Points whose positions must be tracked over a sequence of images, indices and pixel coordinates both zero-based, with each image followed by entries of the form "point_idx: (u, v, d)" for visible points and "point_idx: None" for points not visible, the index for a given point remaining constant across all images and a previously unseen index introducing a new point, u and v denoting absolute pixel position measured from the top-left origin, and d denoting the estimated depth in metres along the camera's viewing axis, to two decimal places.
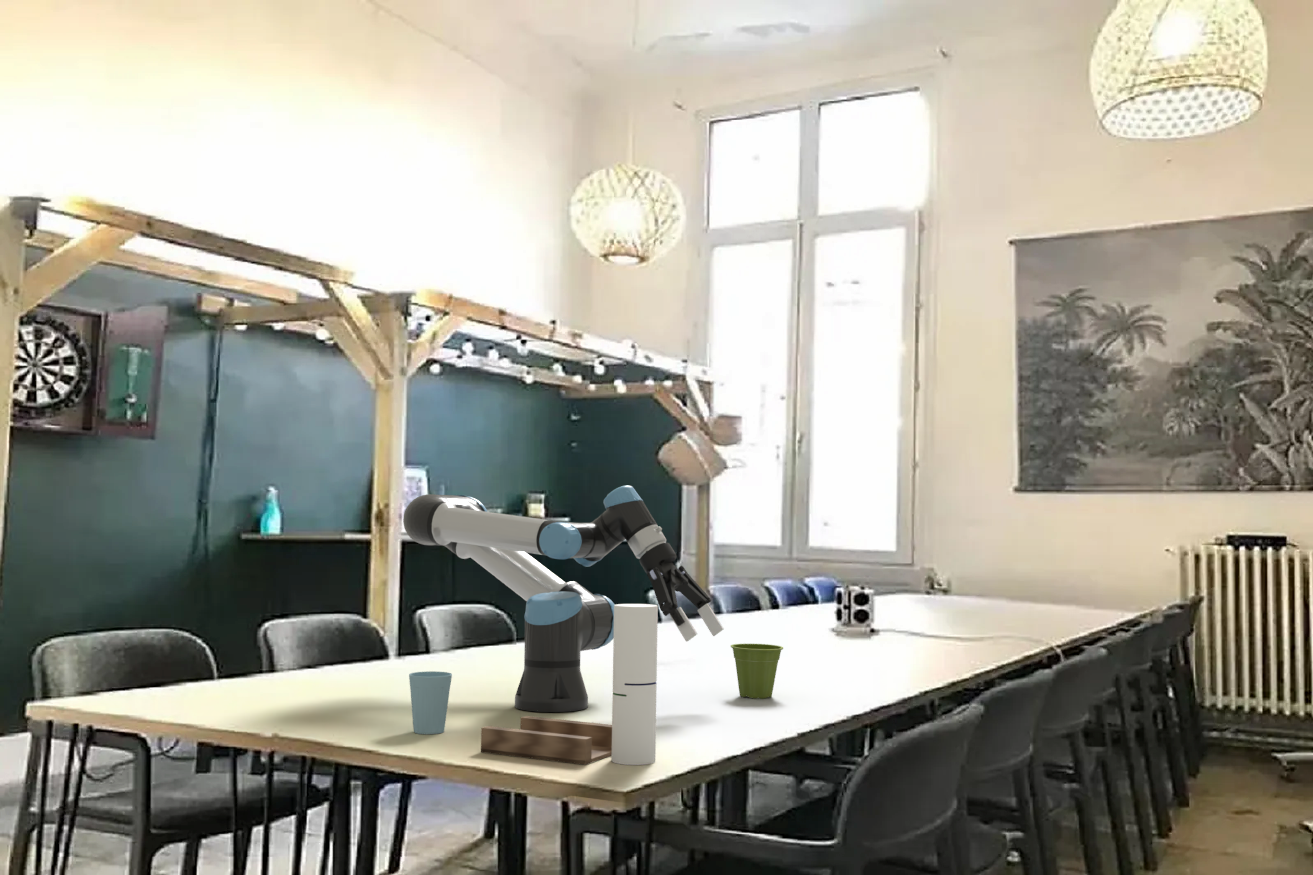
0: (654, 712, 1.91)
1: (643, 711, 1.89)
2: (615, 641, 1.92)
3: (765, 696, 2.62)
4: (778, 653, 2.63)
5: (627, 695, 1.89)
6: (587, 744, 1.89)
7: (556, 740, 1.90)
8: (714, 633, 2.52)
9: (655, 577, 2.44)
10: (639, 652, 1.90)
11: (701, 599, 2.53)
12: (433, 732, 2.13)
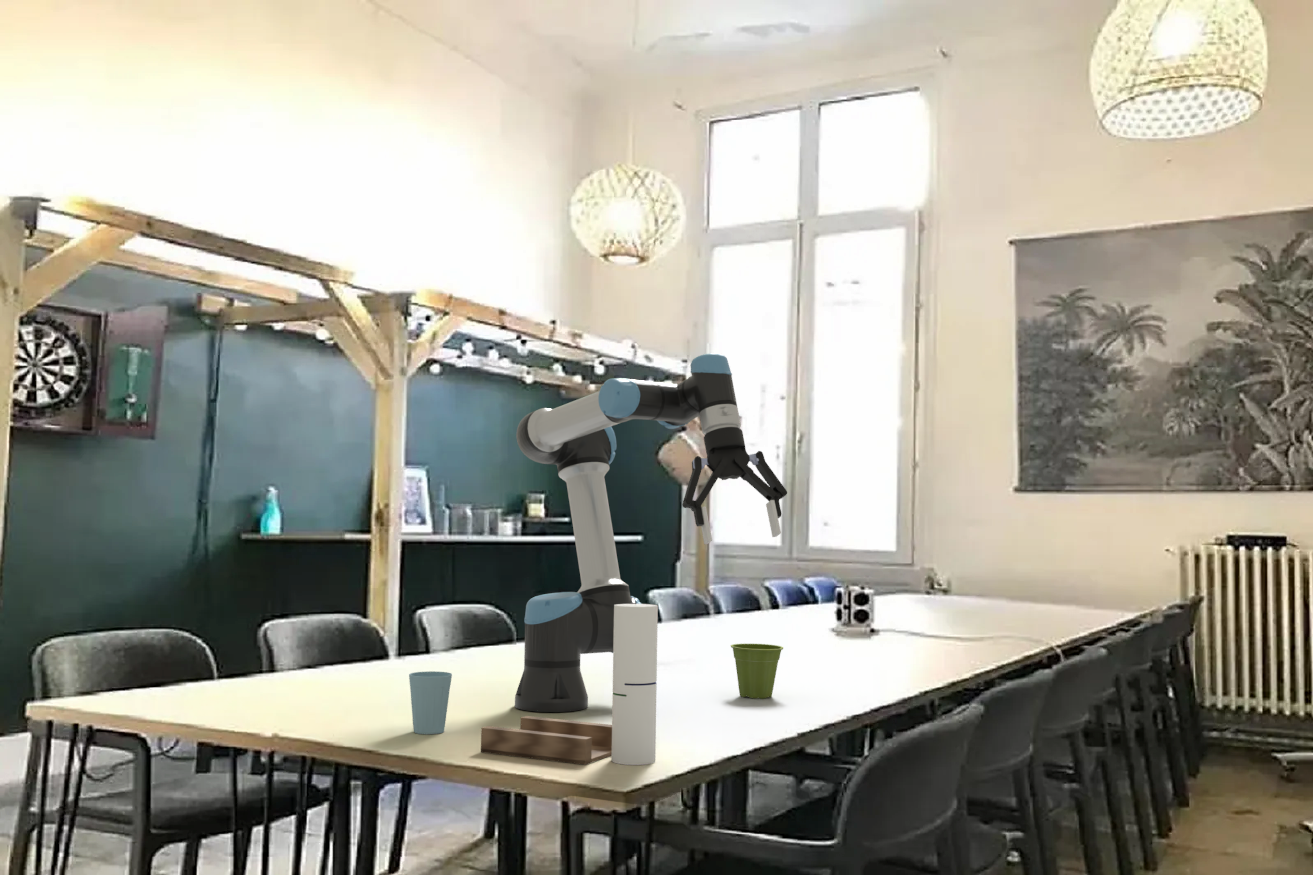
0: (654, 712, 1.91)
1: (643, 711, 1.89)
2: (615, 641, 1.92)
3: (765, 696, 2.62)
4: (778, 653, 2.63)
5: (627, 695, 1.89)
6: (587, 744, 1.89)
7: (556, 740, 1.90)
8: (773, 534, 2.23)
9: (694, 467, 2.22)
10: (639, 652, 1.90)
11: (768, 494, 2.23)
12: (433, 732, 2.13)
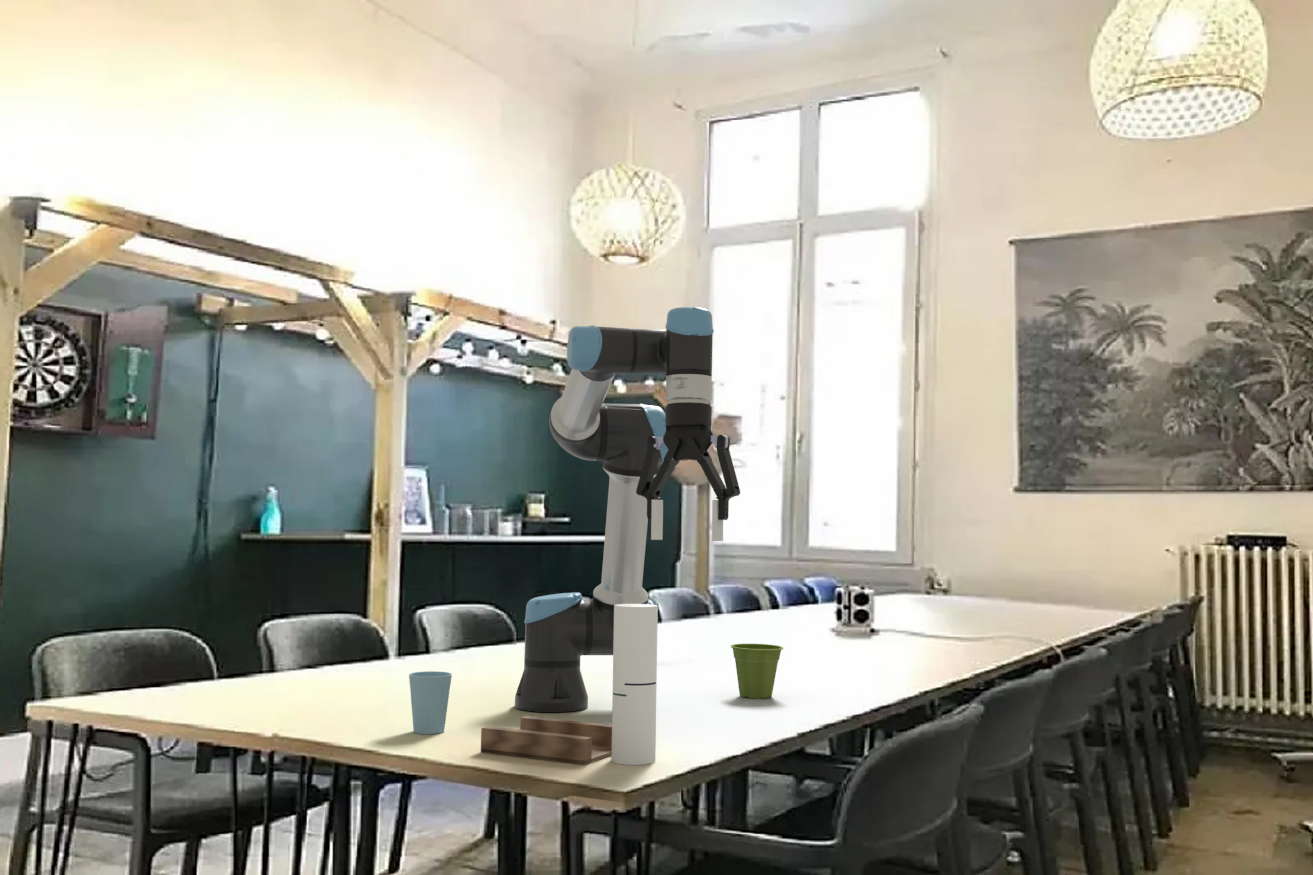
0: (654, 712, 1.91)
1: (643, 711, 1.89)
2: (615, 641, 1.92)
3: (765, 696, 2.62)
4: (778, 653, 2.63)
5: (627, 695, 1.89)
6: (587, 744, 1.89)
7: (556, 740, 1.90)
8: None
9: None
10: (639, 652, 1.90)
11: None
12: (433, 732, 2.13)
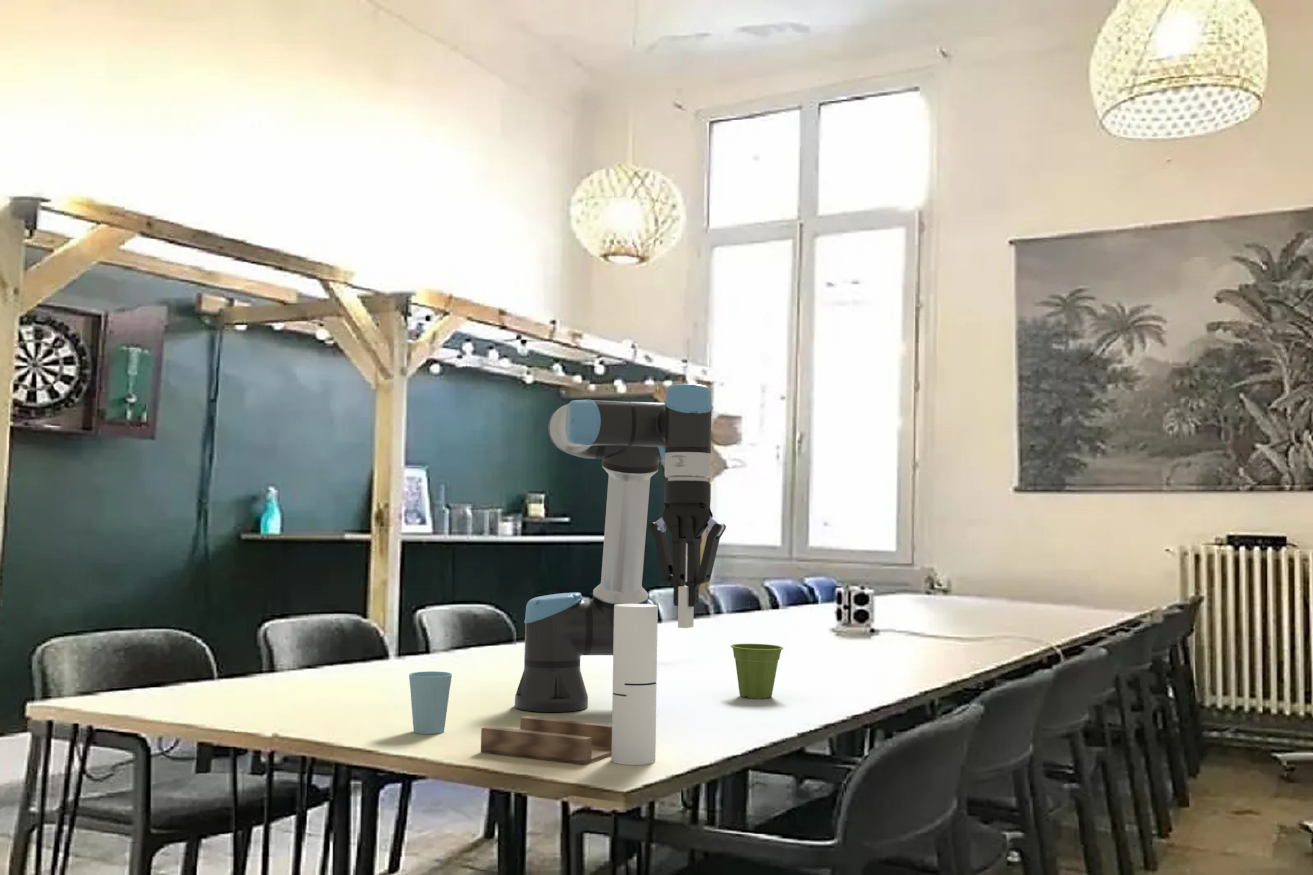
0: (654, 712, 1.91)
1: (643, 711, 1.89)
2: (615, 641, 1.92)
3: (765, 696, 2.62)
4: (778, 653, 2.63)
5: (627, 695, 1.89)
6: (587, 744, 1.89)
7: (556, 740, 1.90)
8: None
9: None
10: (639, 652, 1.90)
11: None
12: (433, 732, 2.13)
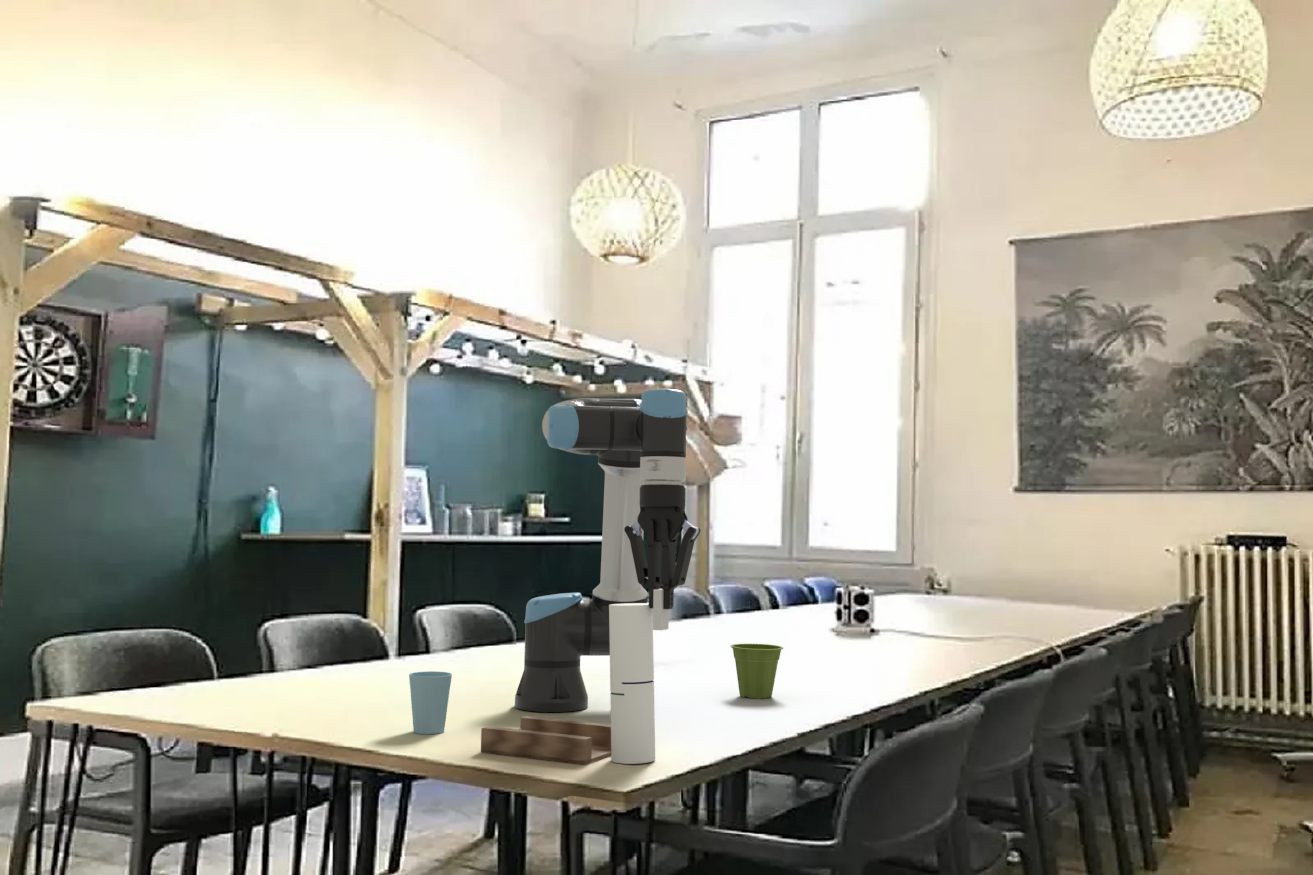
0: (652, 710, 1.91)
1: (642, 709, 1.89)
2: (611, 641, 1.92)
3: (765, 696, 2.62)
4: (778, 653, 2.63)
5: (625, 694, 1.89)
6: (587, 744, 1.89)
7: (556, 740, 1.90)
8: None
9: None
10: (636, 650, 1.90)
11: None
12: (433, 732, 2.13)
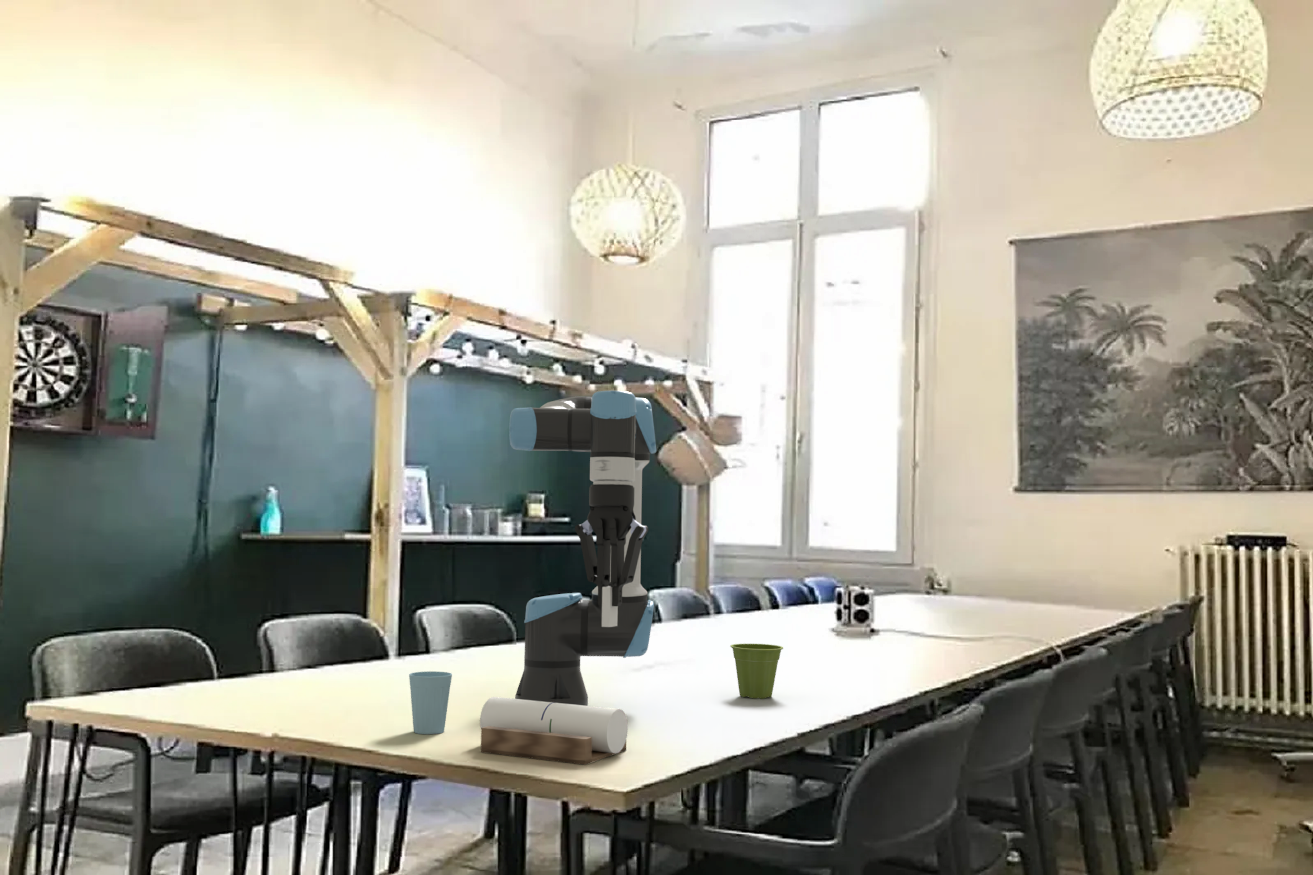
0: None
1: (570, 707, 1.98)
2: None
3: (765, 696, 2.62)
4: (778, 653, 2.63)
5: (551, 718, 1.97)
6: (587, 744, 1.89)
7: (556, 740, 1.90)
8: None
9: None
10: (521, 705, 2.01)
11: None
12: (433, 732, 2.13)
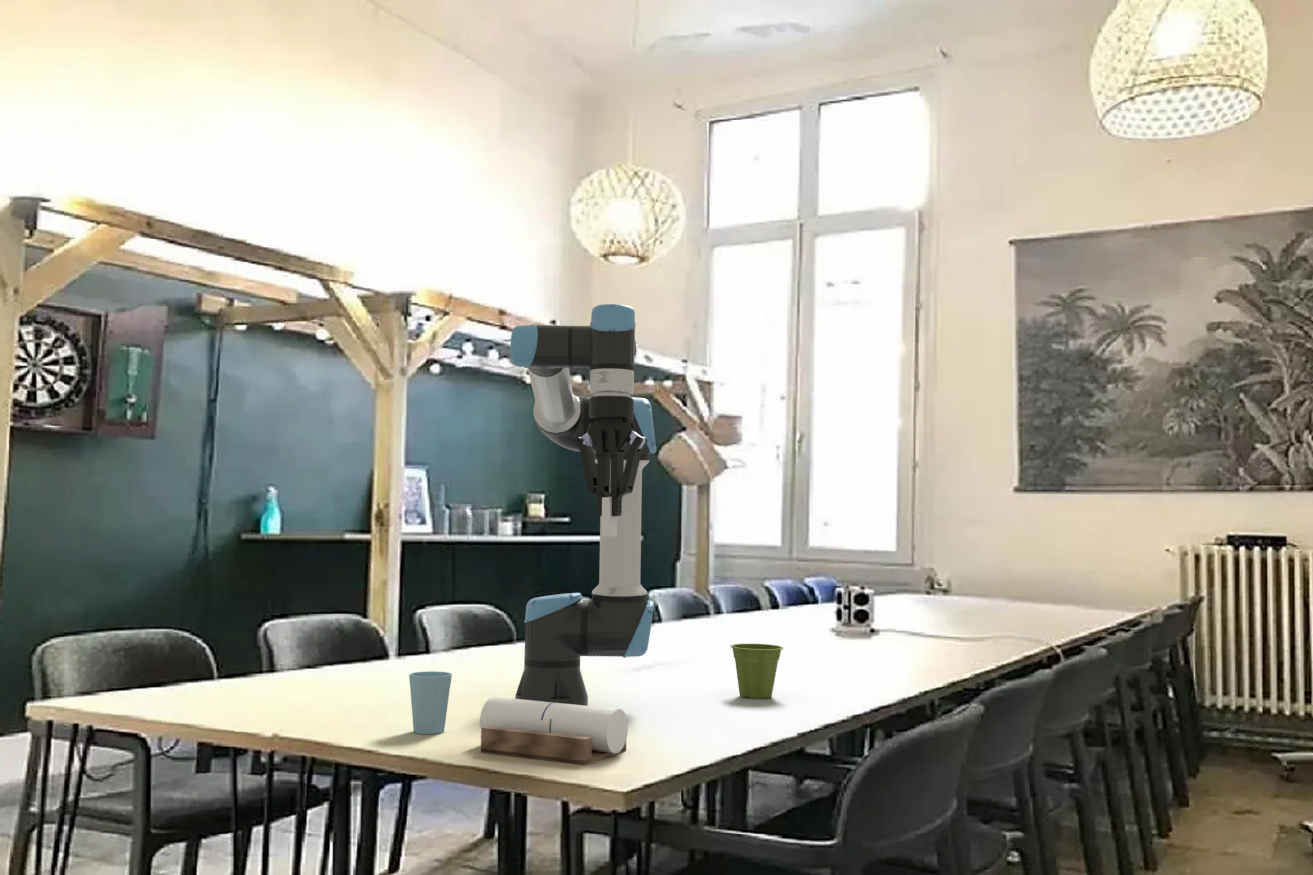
0: None
1: (570, 707, 1.98)
2: None
3: (765, 696, 2.62)
4: (778, 653, 2.63)
5: (551, 718, 1.97)
6: (587, 744, 1.89)
7: (556, 740, 1.90)
8: None
9: None
10: (521, 705, 2.01)
11: None
12: (433, 732, 2.13)
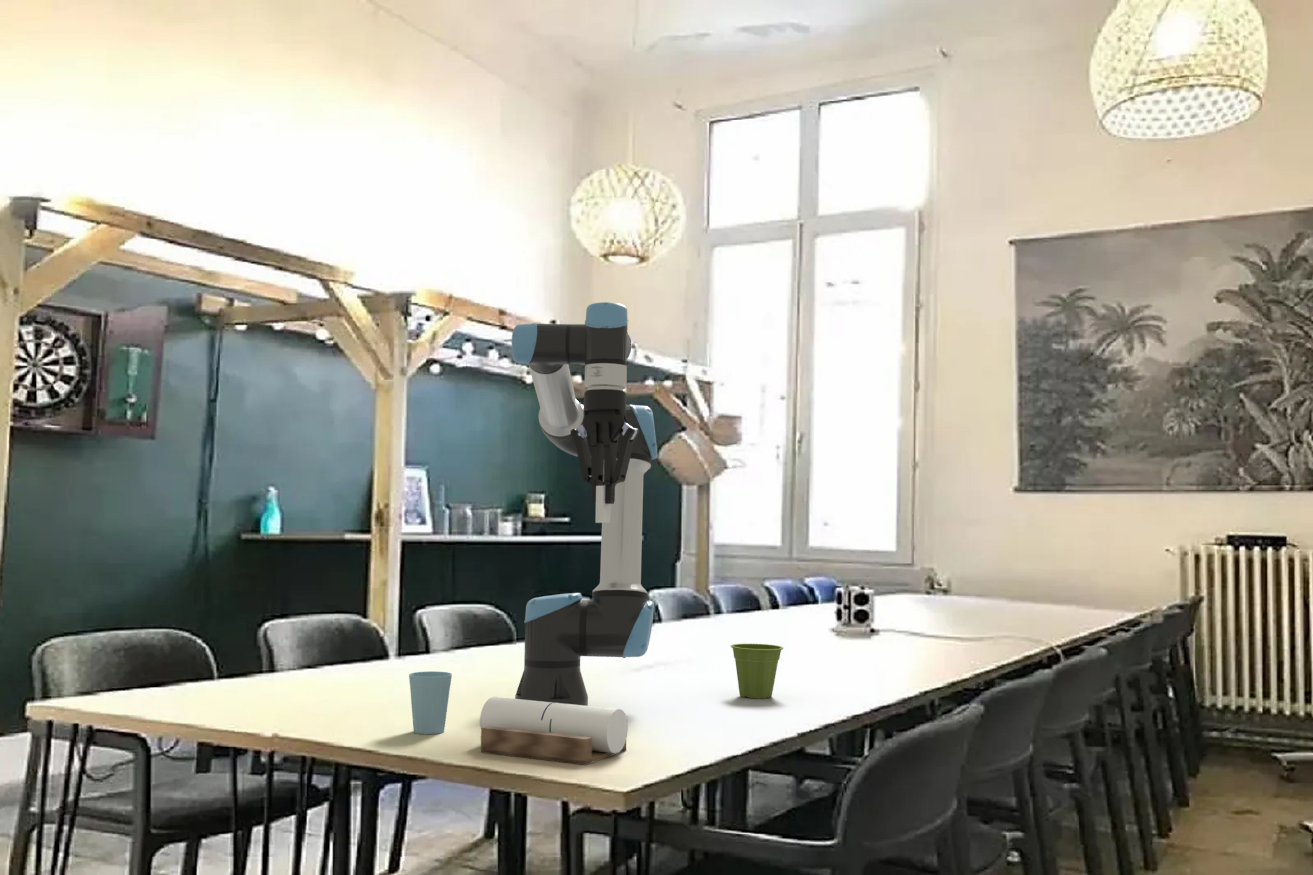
0: None
1: (570, 707, 1.98)
2: None
3: (765, 696, 2.62)
4: (778, 653, 2.63)
5: (551, 718, 1.97)
6: (587, 744, 1.89)
7: (556, 740, 1.90)
8: None
9: None
10: (521, 705, 2.01)
11: None
12: (433, 732, 2.13)
